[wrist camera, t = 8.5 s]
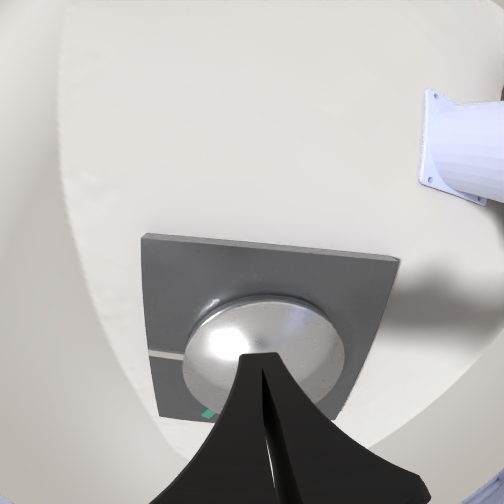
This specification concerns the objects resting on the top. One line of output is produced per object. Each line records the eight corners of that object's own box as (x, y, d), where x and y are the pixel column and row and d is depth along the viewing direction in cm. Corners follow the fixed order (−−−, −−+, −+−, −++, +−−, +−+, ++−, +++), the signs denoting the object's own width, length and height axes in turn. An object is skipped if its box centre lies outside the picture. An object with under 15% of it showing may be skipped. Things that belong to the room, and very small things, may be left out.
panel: (391, 256, 19) (400, 262, 18) (332, 411, 25) (335, 421, 23) (146, 233, 17) (139, 239, 16) (161, 407, 23) (158, 418, 22)
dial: (204, 274, 17) (194, 316, 12) (363, 313, 19) (394, 353, 14) (175, 394, 20) (166, 439, 16) (301, 413, 22) (312, 454, 18)
